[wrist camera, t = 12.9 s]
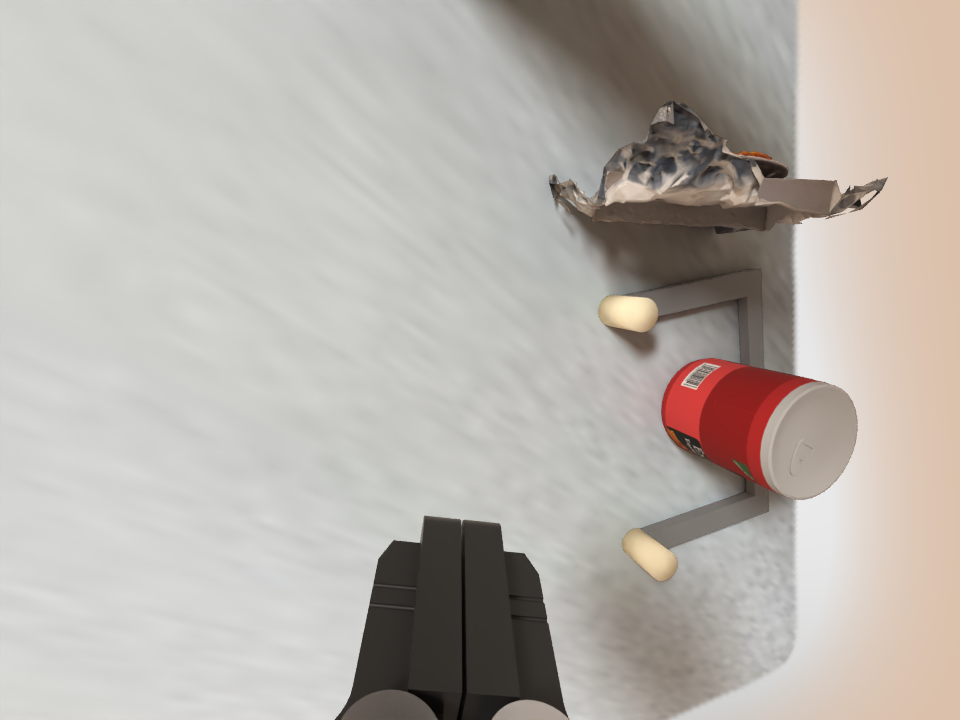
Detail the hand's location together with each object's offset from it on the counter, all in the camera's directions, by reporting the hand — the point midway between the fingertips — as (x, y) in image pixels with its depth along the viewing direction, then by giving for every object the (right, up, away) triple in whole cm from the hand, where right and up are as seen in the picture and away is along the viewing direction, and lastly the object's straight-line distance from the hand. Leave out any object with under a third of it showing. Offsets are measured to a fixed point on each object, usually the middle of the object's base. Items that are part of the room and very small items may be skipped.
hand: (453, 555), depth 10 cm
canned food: (+19, 0, +34) cm, 39 cm away
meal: (+12, +16, +29) cm, 35 cm away
